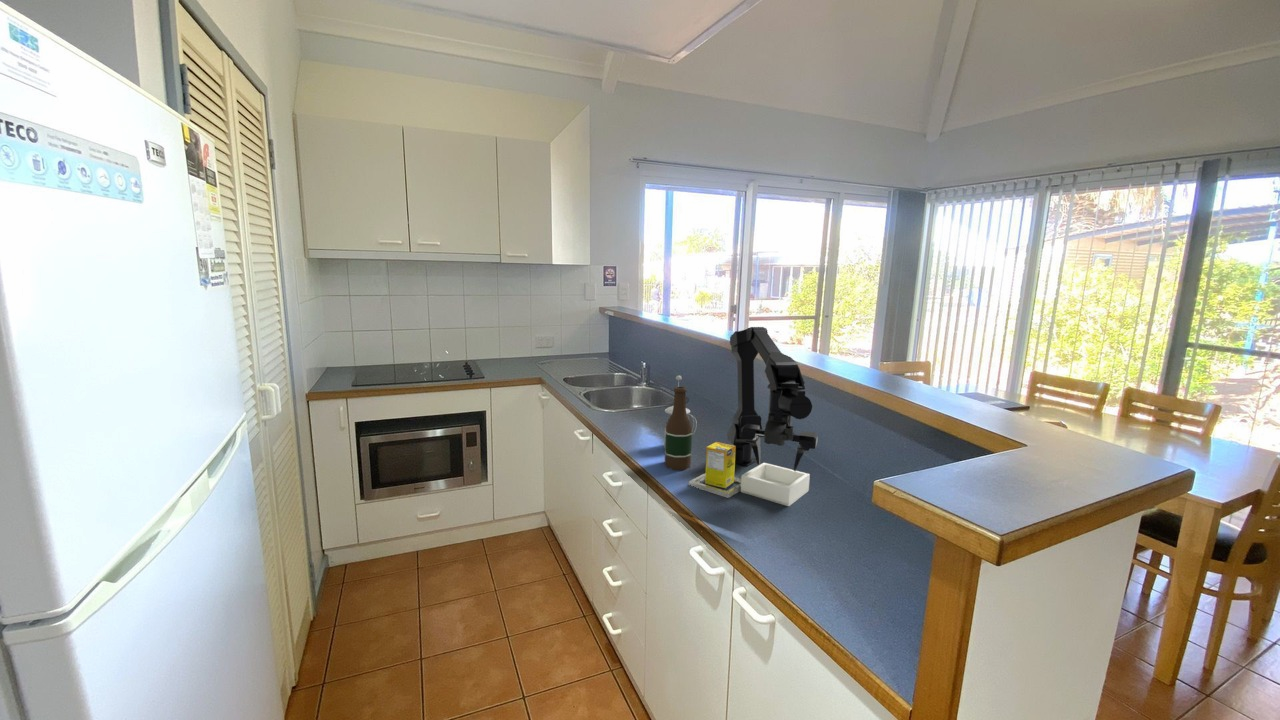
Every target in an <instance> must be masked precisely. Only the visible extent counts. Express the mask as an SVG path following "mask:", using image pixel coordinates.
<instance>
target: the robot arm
mask: <svg viewBox="0 0 1280 720" xmlns="http://www.w3.org/2000/svg"><path fill="white" fill-rule="evenodd" d="M729 345H730V347H731V353H732V355H733V356H734V358H735V360H736V361H737V364H736V365H737V410H736V412H735V414H734V415H733V418H732V424H731V426H730V428H729V429H728V431H727V433H726V438H727V441H728V442H730V443H731V445H734V446H736V451H735V464H738V465H741V466H746V467H748V466H750V465H751V464H753V463H755V462H756V465H757V466H759V465H761V458H762V457H761V456H762V455H761V453H762V452H761V438H764V441H763V442H764V443H765V444H767V445H770V444H771V445H776V446H780V447H781V446H784V445H785V443H786V442H796V443H798V446H797V450H796V454H795V461H794V464H793V470H794V471H797V469H798V466H799V464H800V461H801V459H802V457H803V455H804V454H805V453H806V452H810V451H811V450H813V449H815V450H816V448H817V445H818V442H819V441H818V440H819V438H818V437H819V435H818V434H817V433H816V432H812V431H805V430H802V431H801V433H800V434H797V433H795V427H794V426H793V425H792V418H794V419H796V420H804V419H806V418H807V417H808V416H810V414H811V412H812V410H813V404H812V401H811V399H810V398H809V397H808V396H806V388H805V382H806V381H805V380H804V378H803V376H802V373H801V369H800V366H799V364H798V363H797V361H796V360H794V358H792V357H791V356H790V355H789V356H788V355H787V354H784V353H782V351H781V350H780V348H779V347H778V345H777V344H776V343H775V341H774V340H773V338H771V336H770V335H769V332H768V329H767V328H766V327H764V326H750V327H747V328H746V329H743V330H735V331H734V332H733V333H732V334H731V335H730V337H729ZM758 355H759V357H760V358H761V359H762V361H763V362H764V363H765V369H764V374H765V376H766V377H767V380H768V385H767V389H768V390H769V403H768V417H767V421H766V423H765V428H764V429H763V426H762V417H761V415H759V414H758V413H757V411H756V408H755V369H754V366H755V362H754V361H755V359H756V357H757V356H758ZM753 454H754V457H755V458H753Z"/></svg>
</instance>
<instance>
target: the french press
mask: <svg viewBox="0 0 1280 720" xmlns="http://www.w3.org/2000/svg"><path fill="white" fill-rule="evenodd" d="M682 379H683V378H682V375H676V377H675V380H677V381H678V385H677V387H680V381H681V380H682ZM664 412H665V413H666V414H668V415H670V416H671V415H672V412H673V405H672V406H668V407H667V408H665V410H664ZM690 413H691V410H690V409H689V408H687V407H686V415H687V416H688V419H689V420H690V417H691V418H692V421H693V423H692V424H693V426H692V431H693V430H694V431H693V432H692V436H693V435H694V434H695V432H696V431H697V427H698V422H697V418H696V417H695V416H694V415H692V414H690ZM666 424H667V421H666V422H665V426H664V437H665V436H666ZM694 428H695V429H694ZM663 443H664V446H663V448H664V449H665V439H664V442H663Z"/></svg>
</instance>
